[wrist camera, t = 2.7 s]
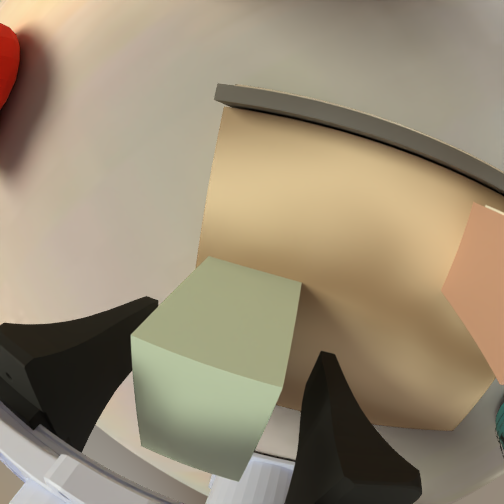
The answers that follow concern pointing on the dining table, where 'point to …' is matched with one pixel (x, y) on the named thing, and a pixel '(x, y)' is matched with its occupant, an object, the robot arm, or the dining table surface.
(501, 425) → the beverage bottle
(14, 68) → the tomato
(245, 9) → the dining table surface
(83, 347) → the robot arm
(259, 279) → the sage carton
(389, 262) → the beige flat panel
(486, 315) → the salmon orange block
